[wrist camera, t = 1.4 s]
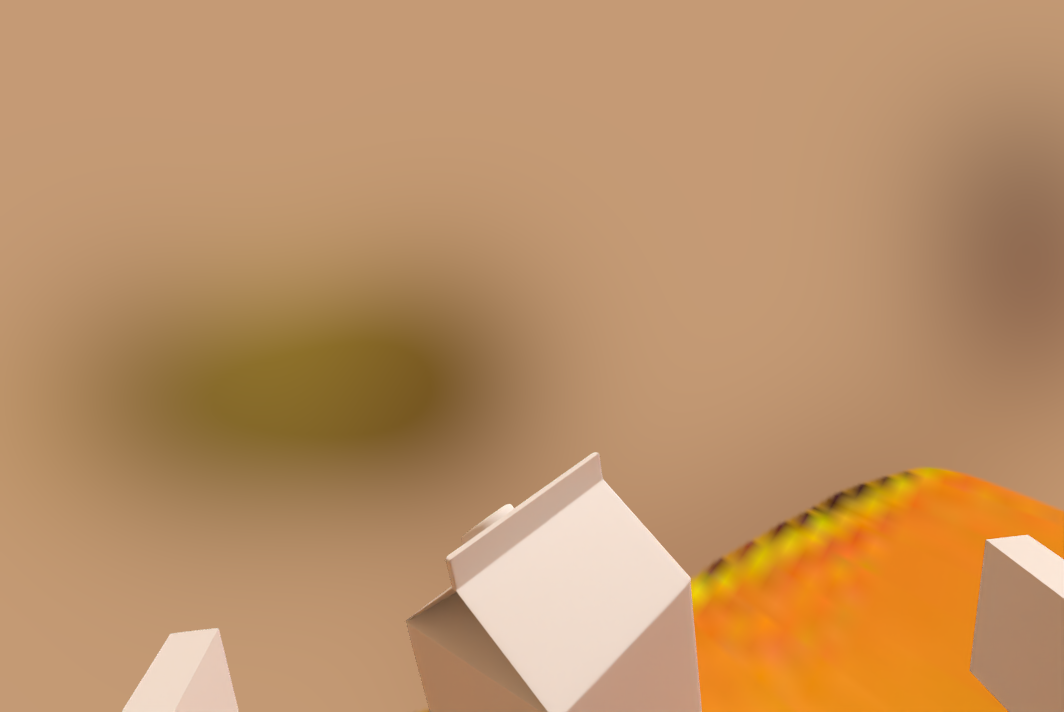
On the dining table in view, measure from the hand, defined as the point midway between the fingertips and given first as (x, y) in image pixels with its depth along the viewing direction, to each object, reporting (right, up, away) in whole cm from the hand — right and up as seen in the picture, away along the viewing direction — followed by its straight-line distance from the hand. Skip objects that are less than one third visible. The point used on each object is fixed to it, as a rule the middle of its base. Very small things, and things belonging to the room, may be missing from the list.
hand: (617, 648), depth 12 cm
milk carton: (+1, -17, +17) cm, 25 cm away
